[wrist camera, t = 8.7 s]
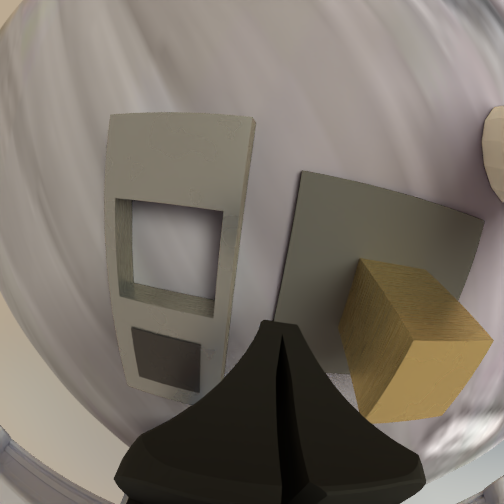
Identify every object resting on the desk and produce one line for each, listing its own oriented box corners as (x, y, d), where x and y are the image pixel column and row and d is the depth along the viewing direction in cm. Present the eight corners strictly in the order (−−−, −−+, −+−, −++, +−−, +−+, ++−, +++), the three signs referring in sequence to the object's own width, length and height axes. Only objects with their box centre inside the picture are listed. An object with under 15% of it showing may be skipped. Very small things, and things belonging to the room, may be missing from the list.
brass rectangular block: (400, 332, 15) (441, 415, 8) (337, 327, 15) (361, 423, 8) (425, 269, 13) (493, 340, 7) (359, 257, 13) (414, 340, 7)
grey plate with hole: (222, 392, 18) (217, 411, 16) (136, 370, 19) (127, 386, 17) (255, 122, 12) (252, 117, 10) (128, 117, 12) (109, 114, 10)
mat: (417, 372, 16) (418, 374, 16) (264, 362, 17) (263, 365, 16) (482, 219, 12) (484, 221, 12) (302, 170, 12) (302, 170, 12)
